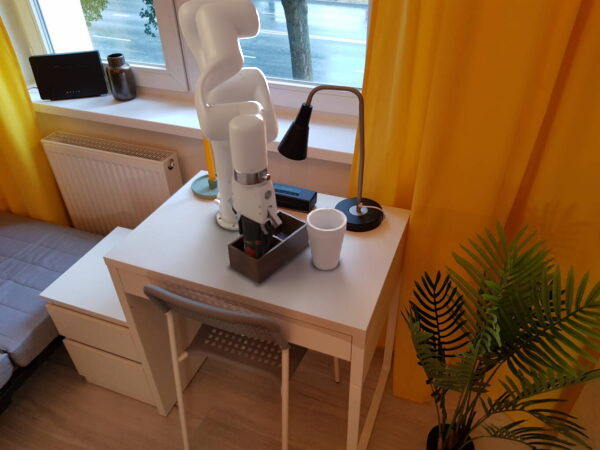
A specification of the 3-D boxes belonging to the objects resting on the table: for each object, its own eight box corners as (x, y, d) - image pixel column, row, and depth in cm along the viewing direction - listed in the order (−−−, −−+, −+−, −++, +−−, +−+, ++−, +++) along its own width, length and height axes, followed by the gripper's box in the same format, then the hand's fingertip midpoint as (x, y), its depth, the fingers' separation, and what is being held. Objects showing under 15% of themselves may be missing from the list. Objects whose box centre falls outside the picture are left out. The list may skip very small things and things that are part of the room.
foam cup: (301, 254, 124) (300, 212, 116) (334, 246, 127) (336, 204, 119) (315, 278, 117) (316, 234, 109) (350, 268, 119) (353, 225, 112)
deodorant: (274, 267, 120) (271, 217, 111) (253, 276, 117) (248, 226, 109) (262, 254, 124) (259, 205, 115) (242, 262, 122) (236, 213, 113)
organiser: (230, 267, 120) (227, 245, 116) (280, 230, 132) (279, 209, 128) (259, 284, 115) (257, 261, 111) (309, 245, 127) (309, 223, 123)
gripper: (292, 178, 103) (294, 244, 114) (234, 154, 112) (241, 217, 122) (269, 193, 98) (272, 260, 109) (210, 166, 107) (219, 231, 118)
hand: (256, 237), depth 116 cm, fingers open, 6 cm apart
